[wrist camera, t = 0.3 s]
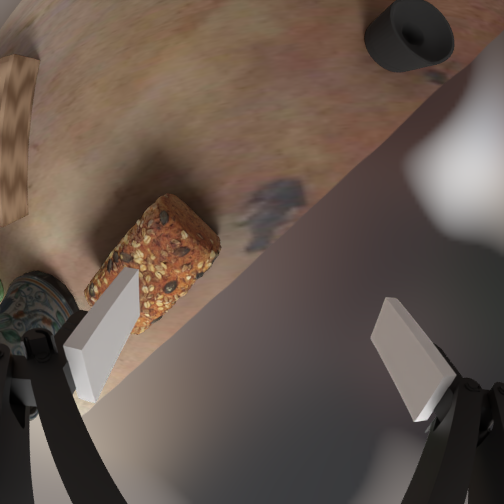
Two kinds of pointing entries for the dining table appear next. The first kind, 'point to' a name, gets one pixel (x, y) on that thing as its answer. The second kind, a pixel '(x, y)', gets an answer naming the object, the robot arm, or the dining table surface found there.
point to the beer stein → (33, 310)
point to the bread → (160, 258)
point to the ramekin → (1, 291)
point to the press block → (15, 133)
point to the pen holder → (409, 36)
